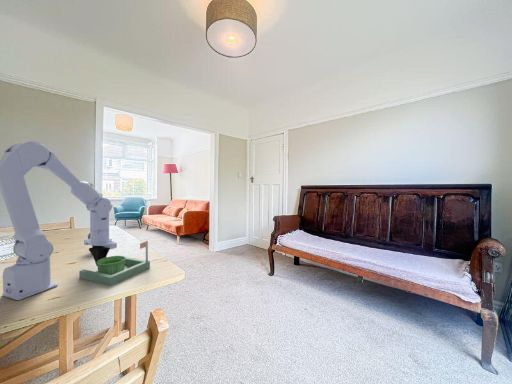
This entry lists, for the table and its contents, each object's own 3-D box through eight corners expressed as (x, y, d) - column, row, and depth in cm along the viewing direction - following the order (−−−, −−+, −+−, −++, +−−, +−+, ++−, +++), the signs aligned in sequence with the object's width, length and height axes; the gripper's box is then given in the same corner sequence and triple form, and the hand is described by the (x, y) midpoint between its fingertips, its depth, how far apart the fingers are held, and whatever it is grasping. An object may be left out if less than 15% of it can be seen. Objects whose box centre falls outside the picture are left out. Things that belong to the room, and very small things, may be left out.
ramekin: (97, 269, 82) (97, 258, 81) (125, 265, 86) (125, 254, 86) (95, 278, 74) (95, 266, 74) (126, 273, 79) (126, 261, 79)
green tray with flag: (110, 285, 70) (109, 252, 69) (79, 278, 74) (78, 247, 74) (149, 267, 85) (149, 240, 84) (122, 262, 89) (121, 236, 89)
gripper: (124, 229, 83) (124, 264, 84) (97, 226, 88) (97, 259, 88) (105, 233, 76) (106, 271, 77) (77, 229, 81) (78, 265, 82)
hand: (100, 265), depth 82 cm, fingers closed
